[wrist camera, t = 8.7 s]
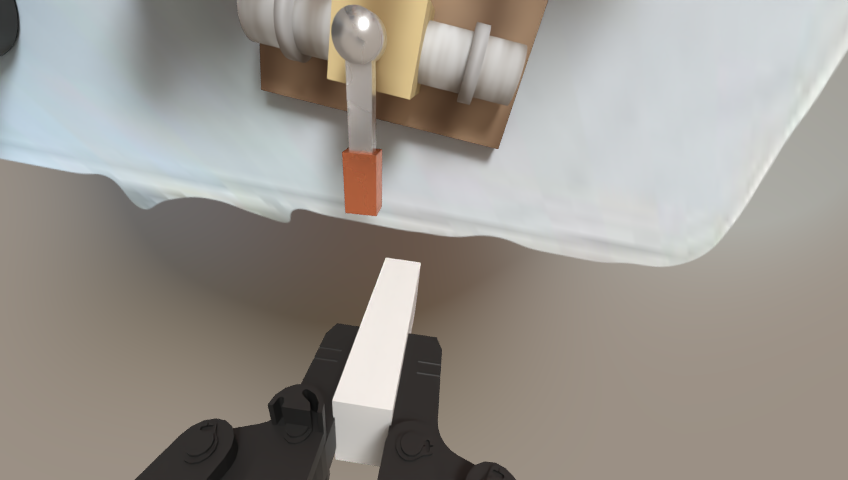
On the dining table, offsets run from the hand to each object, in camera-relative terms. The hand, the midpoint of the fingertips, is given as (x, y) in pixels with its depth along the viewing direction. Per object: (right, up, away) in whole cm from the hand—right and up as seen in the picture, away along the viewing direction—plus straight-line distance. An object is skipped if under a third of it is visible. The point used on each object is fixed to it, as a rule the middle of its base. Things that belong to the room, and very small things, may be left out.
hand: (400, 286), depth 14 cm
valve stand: (-2, +22, +18) cm, 29 cm away
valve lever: (-4, +11, +11) cm, 16 cm away
